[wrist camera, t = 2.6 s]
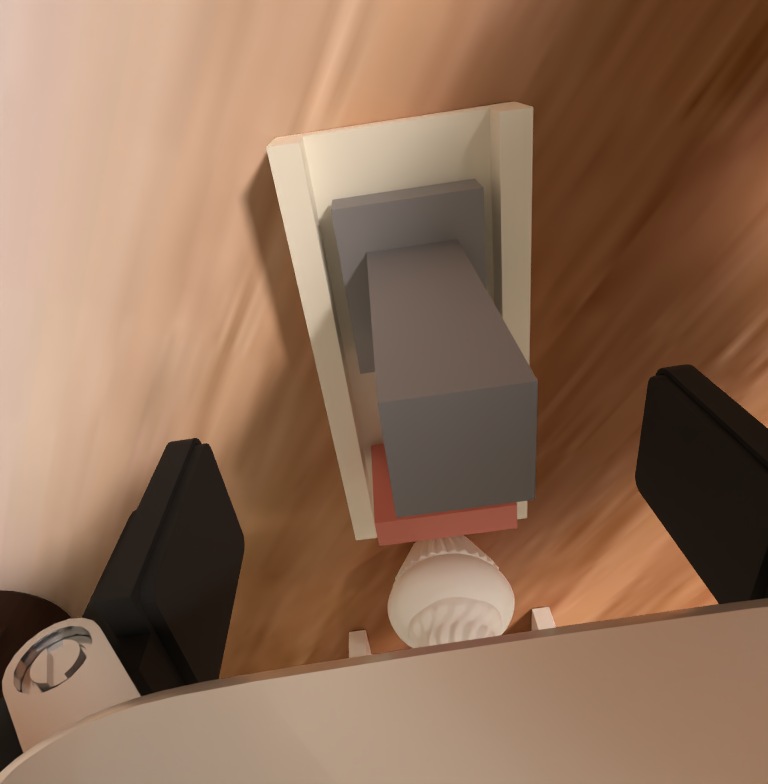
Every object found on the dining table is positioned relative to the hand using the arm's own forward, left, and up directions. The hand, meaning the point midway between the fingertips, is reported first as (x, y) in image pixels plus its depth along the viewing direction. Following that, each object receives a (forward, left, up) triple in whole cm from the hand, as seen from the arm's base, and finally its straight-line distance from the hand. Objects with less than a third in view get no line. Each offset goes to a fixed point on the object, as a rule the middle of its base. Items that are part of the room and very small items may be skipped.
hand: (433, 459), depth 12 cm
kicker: (-1, +2, -10) cm, 10 cm away
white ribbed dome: (-1, +15, -11) cm, 19 cm away
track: (-1, +3, -11) cm, 11 cm away
